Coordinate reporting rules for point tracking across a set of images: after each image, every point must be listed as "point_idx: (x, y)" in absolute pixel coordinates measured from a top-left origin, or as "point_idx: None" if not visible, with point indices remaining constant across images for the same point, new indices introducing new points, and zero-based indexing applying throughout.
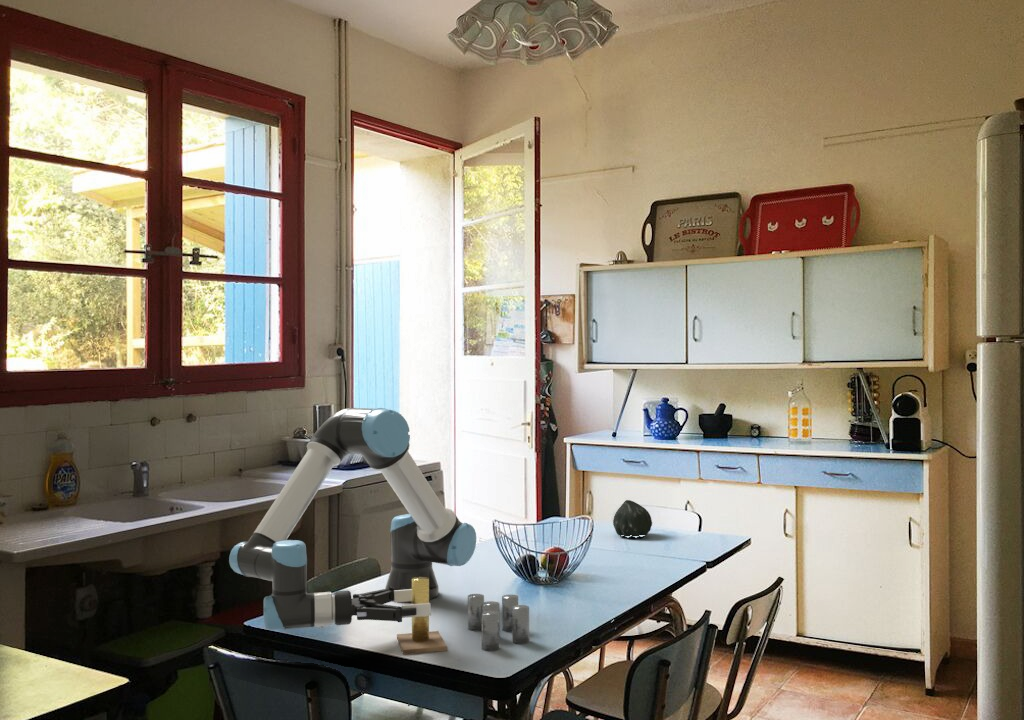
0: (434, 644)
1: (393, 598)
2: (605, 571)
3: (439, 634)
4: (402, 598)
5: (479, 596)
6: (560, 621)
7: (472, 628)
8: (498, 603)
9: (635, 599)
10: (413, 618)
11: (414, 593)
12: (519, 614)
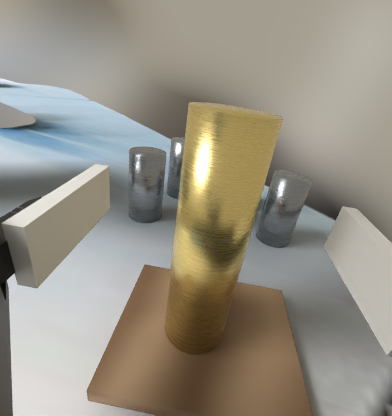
0: (262, 310)
1: (11, 272)
2: (46, 110)
3: None
4: (63, 241)
5: (157, 151)
6: None
7: (154, 217)
8: None
9: (146, 129)
10: (219, 294)
11: (249, 192)
12: None
